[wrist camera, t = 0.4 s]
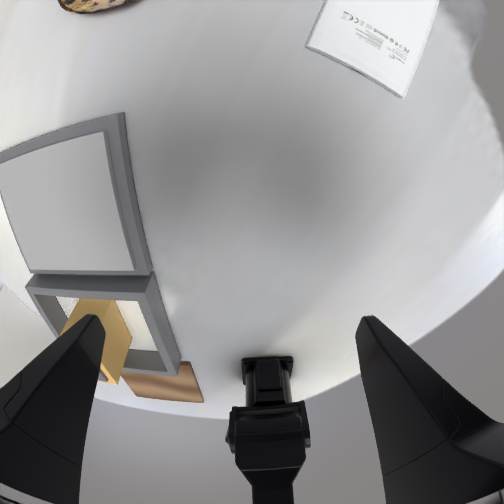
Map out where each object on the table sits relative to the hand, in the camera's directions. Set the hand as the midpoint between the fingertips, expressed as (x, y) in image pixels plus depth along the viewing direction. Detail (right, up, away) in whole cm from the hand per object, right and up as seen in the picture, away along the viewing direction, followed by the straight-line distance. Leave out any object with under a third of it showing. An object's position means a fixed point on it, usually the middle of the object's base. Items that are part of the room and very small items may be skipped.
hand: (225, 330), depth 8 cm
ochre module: (-16, -5, +20) cm, 26 cm away
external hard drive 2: (+10, +21, +4) cm, 23 cm away
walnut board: (-13, -17, +28) cm, 35 cm away
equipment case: (-16, +1, +16) cm, 23 cm away
